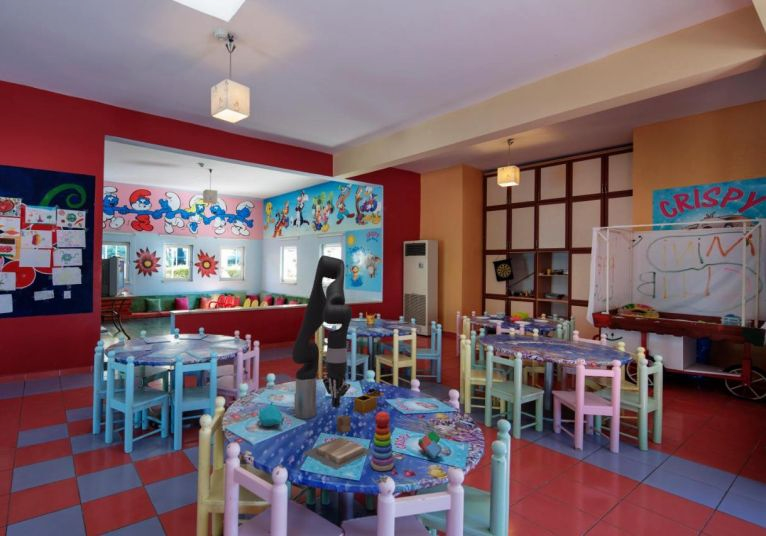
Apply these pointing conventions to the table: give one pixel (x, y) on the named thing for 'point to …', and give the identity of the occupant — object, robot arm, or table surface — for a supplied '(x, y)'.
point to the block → (343, 423)
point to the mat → (328, 462)
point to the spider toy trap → (367, 401)
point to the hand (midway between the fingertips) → (335, 406)
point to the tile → (340, 450)
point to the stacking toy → (382, 444)
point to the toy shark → (270, 416)
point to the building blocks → (430, 444)
